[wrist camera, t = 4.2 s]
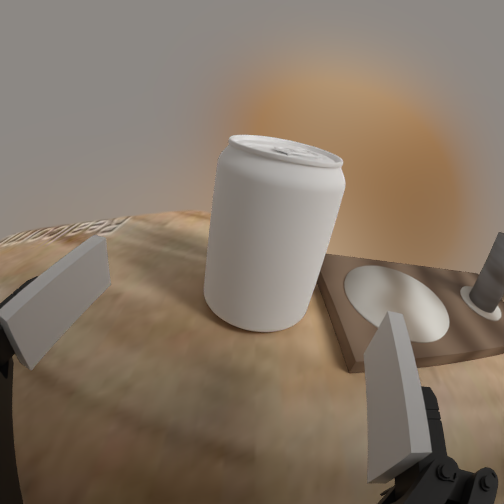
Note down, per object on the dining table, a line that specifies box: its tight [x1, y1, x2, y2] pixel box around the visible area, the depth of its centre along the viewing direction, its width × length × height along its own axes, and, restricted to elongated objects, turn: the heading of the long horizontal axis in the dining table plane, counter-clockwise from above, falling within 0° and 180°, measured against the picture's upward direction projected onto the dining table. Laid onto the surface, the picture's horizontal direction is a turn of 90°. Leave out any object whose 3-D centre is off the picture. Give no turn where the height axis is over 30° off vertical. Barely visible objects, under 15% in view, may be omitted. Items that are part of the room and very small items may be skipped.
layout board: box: [317, 232, 504, 373], centre depth 23 cm, size 26×14×9 cm, turn 92°
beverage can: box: [204, 135, 345, 332], centre depth 20 cm, size 8×8×12 cm
